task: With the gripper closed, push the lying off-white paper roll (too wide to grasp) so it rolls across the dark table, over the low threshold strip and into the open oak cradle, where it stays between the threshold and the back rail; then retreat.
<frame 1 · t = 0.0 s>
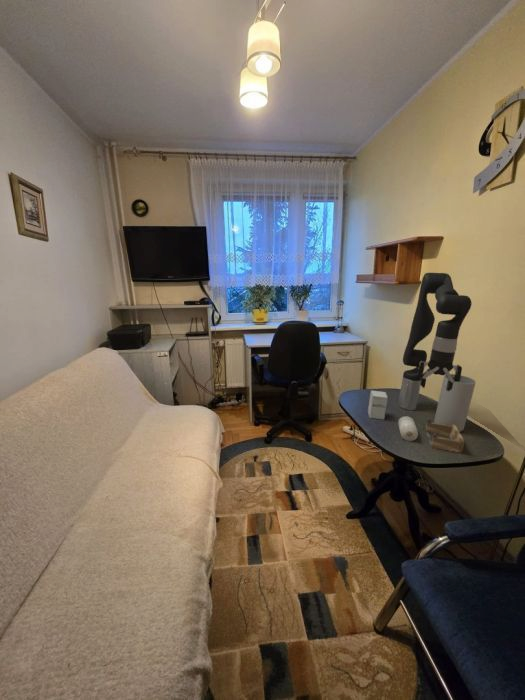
hand: (435, 388, 111), 29 cm above the table, fingers open, 8 cm apart
oak cradle: (443, 441, 128), on the table
supplement box: (375, 416, 149), on the table
paper roll: (407, 428, 132), point 3 cm above the table
cylinder vase: (448, 426, 142), on the table
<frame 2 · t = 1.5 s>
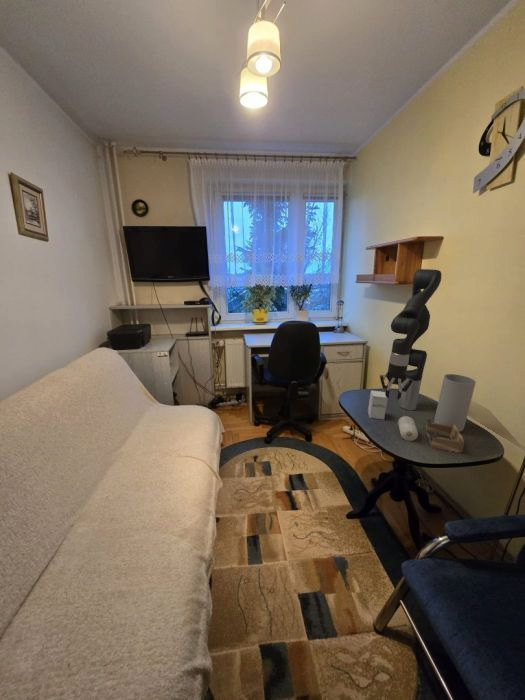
hand: (392, 397, 130), 17 cm above the table, fingers open, 3 cm apart
nothing on the table moved.
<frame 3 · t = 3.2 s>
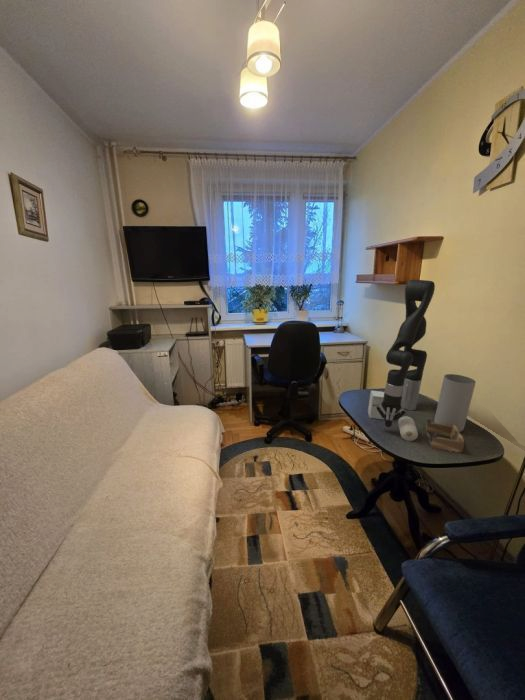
hand: (387, 426, 134), 3 cm above the table, fingers closed
nothing on the table moved.
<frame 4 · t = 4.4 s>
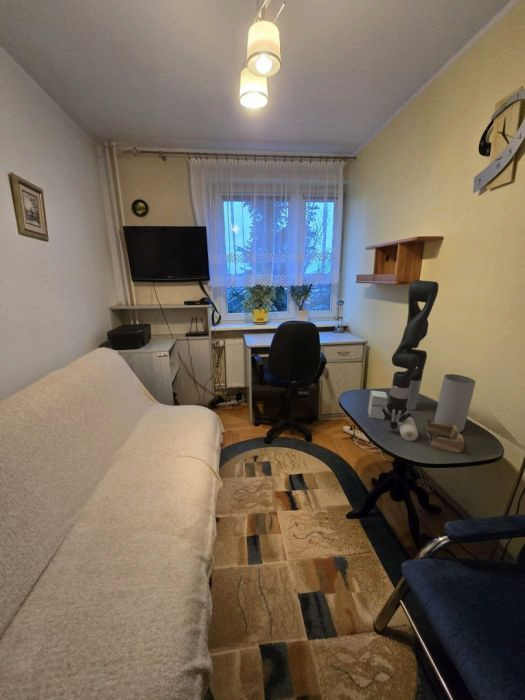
hand: (393, 428, 134), 2 cm above the table, fingers closed
nothing on the table moved.
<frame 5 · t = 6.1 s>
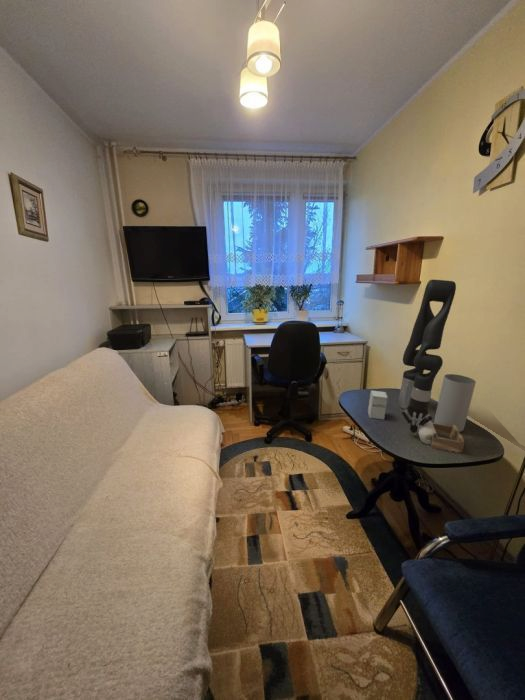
hand: (413, 431, 131), 2 cm above the table, fingers closed
paper roll: (426, 431, 129), point 4 cm above the table, tilted 122°, touching gripper, oak cradle
everything else where it was.
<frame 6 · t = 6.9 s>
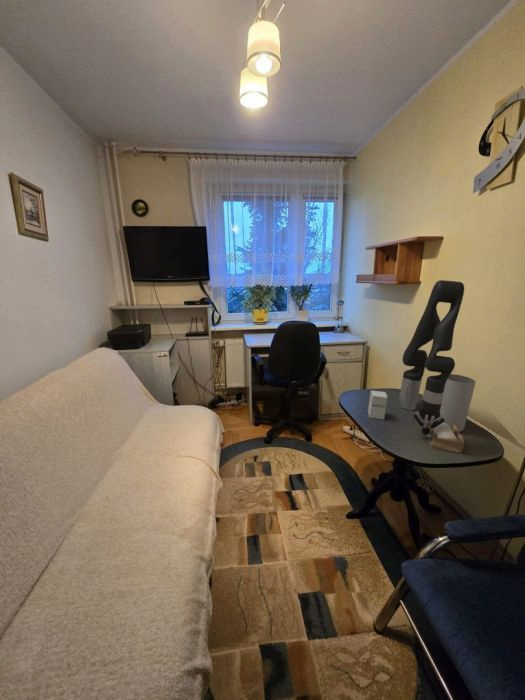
hand: (424, 434, 130), 2 cm above the table, fingers closed
paper roll: (445, 435, 127), point 3 cm above the table, tilted 115°
everything else where it was.
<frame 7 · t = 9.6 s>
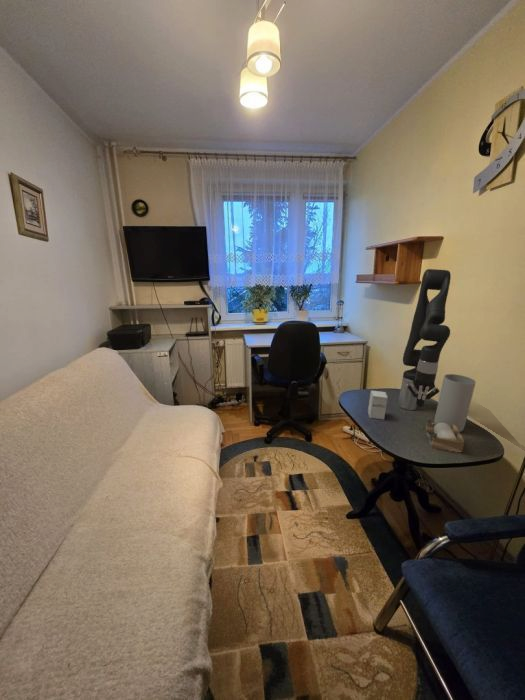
hand: (419, 405, 128), 15 cm above the table, fingers closed
nothing on the table moved.
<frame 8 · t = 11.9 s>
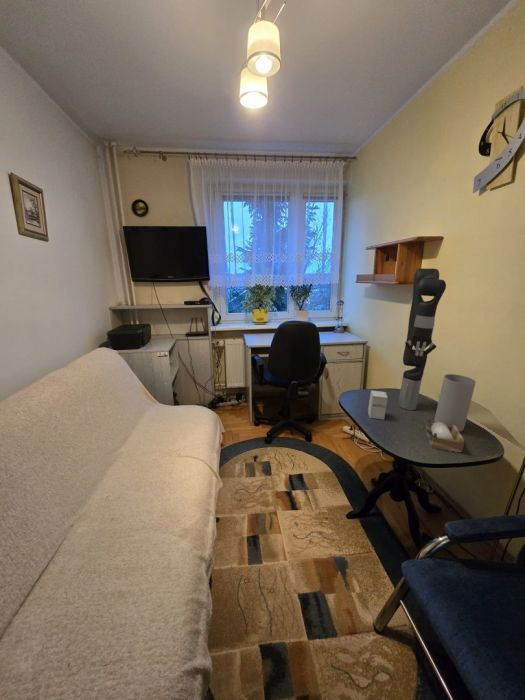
hand: (416, 363, 130), 33 cm above the table, fingers closed
paper roll: (442, 434, 127), point 3 cm above the table, tilted 136°
everything else where it was.
at the end: paper roll inside the target area (0.1 cm from its centre), point 3.4 cm above the table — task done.
